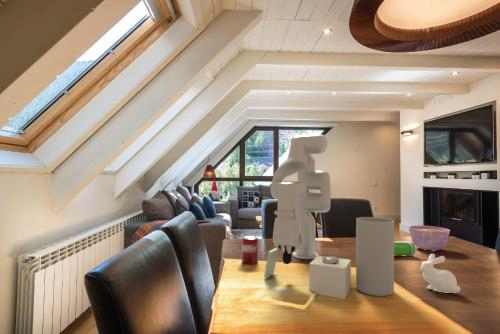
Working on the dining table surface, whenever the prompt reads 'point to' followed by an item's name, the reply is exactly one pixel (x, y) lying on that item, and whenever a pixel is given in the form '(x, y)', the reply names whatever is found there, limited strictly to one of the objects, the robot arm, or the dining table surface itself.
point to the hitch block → (330, 277)
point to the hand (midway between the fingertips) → (287, 263)
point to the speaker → (404, 248)
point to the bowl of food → (429, 237)
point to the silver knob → (330, 260)
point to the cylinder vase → (375, 256)
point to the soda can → (250, 250)
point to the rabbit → (439, 276)
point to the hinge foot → (271, 276)
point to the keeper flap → (271, 262)
